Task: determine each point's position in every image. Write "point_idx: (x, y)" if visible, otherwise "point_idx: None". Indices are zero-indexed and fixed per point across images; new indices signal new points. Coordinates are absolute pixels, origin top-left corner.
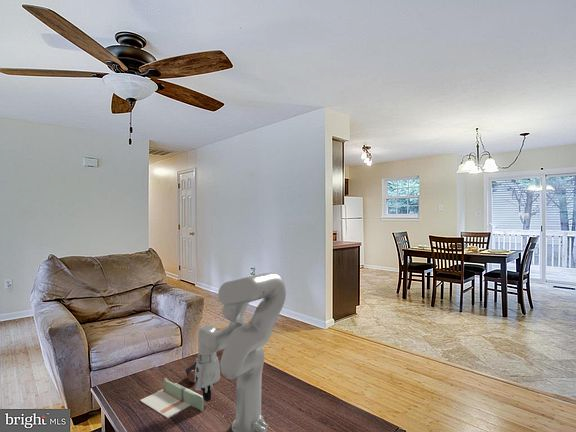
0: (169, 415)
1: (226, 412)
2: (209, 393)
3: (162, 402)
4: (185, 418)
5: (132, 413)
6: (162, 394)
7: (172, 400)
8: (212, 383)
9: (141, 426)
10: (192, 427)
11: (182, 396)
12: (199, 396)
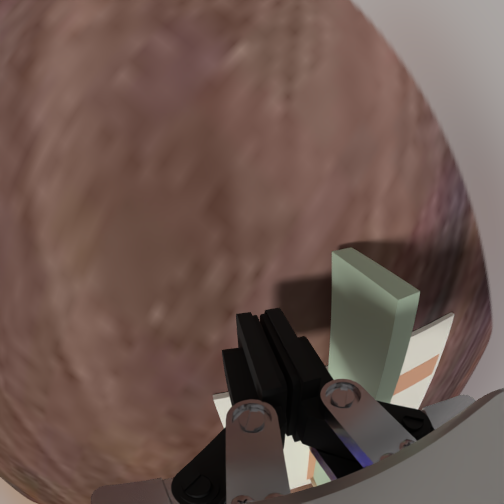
0: (444, 325)
1: (183, 72)
2: (274, 367)
3: None
4: (428, 256)
5: (448, 392)
6: None
7: None
8: (331, 502)
9: (488, 315)
10: (449, 145)
11: None
12: (387, 361)
